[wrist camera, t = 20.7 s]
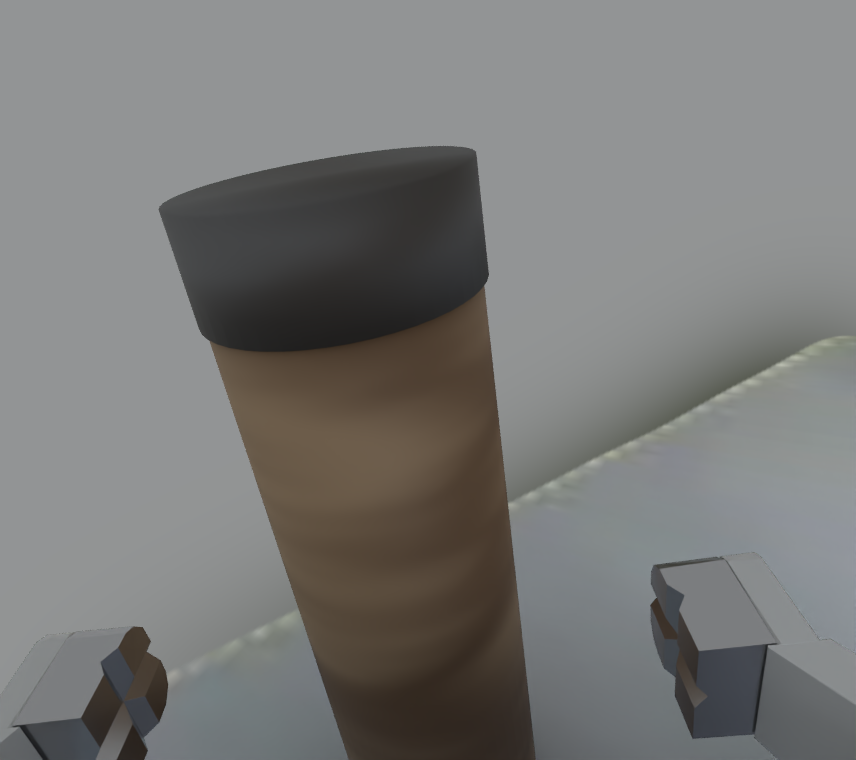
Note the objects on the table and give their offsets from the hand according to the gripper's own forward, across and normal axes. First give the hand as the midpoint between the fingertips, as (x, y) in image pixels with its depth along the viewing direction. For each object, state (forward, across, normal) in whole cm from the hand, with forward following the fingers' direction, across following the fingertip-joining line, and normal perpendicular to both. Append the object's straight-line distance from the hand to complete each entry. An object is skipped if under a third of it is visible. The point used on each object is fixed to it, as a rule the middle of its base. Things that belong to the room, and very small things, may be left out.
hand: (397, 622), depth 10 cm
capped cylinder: (+4, 0, +11) cm, 11 cm away
